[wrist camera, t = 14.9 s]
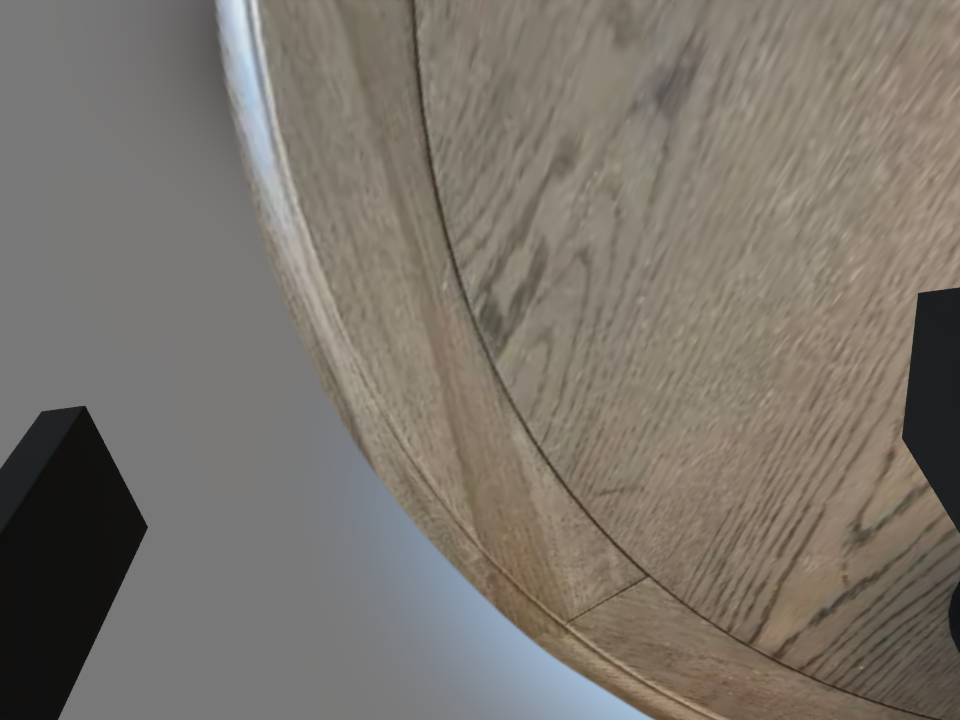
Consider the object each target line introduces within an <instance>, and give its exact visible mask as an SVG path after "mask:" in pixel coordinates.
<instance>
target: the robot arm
mask: <svg viewBox="0 0 960 720" xmlns="http://www.w3.org/2000/svg"><path fill="white" fill-rule="evenodd" d="M902 439H903V441H904V442H905V444H906V446H907V447H908V449H909V451H910V452H911V454H912V455H913V457H914V459H915V460H916V462H917V464H918V465H919V467H920V469H921V470H922V472H923V474H924V475H925V477H926V479H927V480H928V482H929V483H930V485H931V487H932V488H933V490H934V492H935V493H936V495H937V497H938V498H939V500H940V502H941V503H942V505H943V507H944V508H945V510H946V511H947V513H948V515H949V516H950V518H951V520H952V521H953V523H954V525H955V526H956V528H957V530H958V531H959V533H960V288H952V289H945V290H938V291H930V292H923V293H918V300H917V309H916V318H915V327H914V336H913V345H912V354H911V362H910V371H909V380H908V389H907V398H906V407H905V416H904V425H903V434H902ZM147 528H148V526H147V525H146V522H145V520H144V519H143V517H142V515H141V513H140V511H139V509H138V507H137V505H136V503H135V501H134V499H133V497H132V495H131V493H130V491H129V490H128V488H127V486H126V484H125V482H124V480H123V478H122V476H121V474H120V472H119V470H118V468H117V466H116V464H115V462H114V461H113V459H112V457H111V455H110V453H109V451H108V449H107V447H106V445H105V443H104V441H103V439H102V437H101V435H100V433H99V431H98V429H97V428H96V426H95V424H94V422H93V420H92V418H91V416H90V414H89V412H88V410H87V408H86V406H79V407H72V408H65V409H57V410H50V411H42V412H41V413H40V415H39V416H38V417H37V419H36V420H35V422H34V423H33V424H32V426H31V427H30V428H29V430H28V431H27V433H26V434H25V435H24V437H23V438H22V440H21V441H20V442H19V444H18V445H17V446H16V448H15V449H14V451H13V452H12V453H11V455H10V456H9V458H8V459H7V460H6V462H5V463H4V465H3V466H2V467H1V469H0V720H58V718H59V716H60V714H61V712H62V710H63V707H64V706H65V703H66V701H67V699H68V697H69V695H70V693H71V691H72V688H73V686H74V684H75V682H76V680H77V678H78V676H79V673H80V671H81V669H82V667H83V665H84V663H85V660H86V659H87V656H88V654H89V652H90V650H91V648H92V646H93V644H94V641H95V639H96V637H97V635H98V633H99V631H100V629H101V626H102V624H103V622H104V620H105V618H106V616H107V613H108V611H109V610H110V607H111V605H112V603H113V601H114V599H115V597H116V595H117V592H118V590H119V588H120V586H121V584H122V582H123V580H124V578H125V575H126V573H127V571H128V569H129V567H130V565H131V563H132V560H133V558H134V556H135V554H136V552H137V550H138V548H139V545H140V543H141V541H142V539H143V537H144V535H145V533H146V531H147Z"/></svg>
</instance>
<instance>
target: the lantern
mask: <svg viewBox="0 0 960 720" xmlns="http://www.w3.org/2000/svg"><path fill="white" fill-rule="evenodd" d="M949 623H950V631H951V635H952V638H953V640H954V642H955V645H956V647H957V649H958V651H959V652H960V582H959V584H958V586H957V587H956V589H955V591H954V593H953V595H952V599H951V604H950V608H949Z"/></svg>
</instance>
